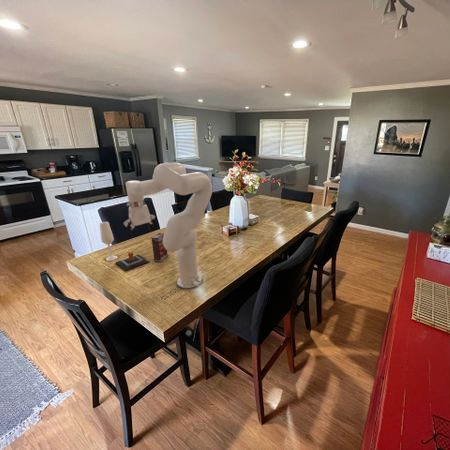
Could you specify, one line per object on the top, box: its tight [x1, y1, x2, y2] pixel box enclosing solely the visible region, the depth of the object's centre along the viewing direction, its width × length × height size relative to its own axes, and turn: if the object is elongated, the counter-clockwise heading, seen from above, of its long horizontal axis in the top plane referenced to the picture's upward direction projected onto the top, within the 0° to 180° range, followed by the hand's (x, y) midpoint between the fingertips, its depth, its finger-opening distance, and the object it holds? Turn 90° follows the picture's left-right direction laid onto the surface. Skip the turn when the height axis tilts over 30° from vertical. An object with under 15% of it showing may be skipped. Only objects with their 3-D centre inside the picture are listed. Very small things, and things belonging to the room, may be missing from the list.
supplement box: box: [151, 232, 169, 263], centre depth 151 cm, size 9×5×16 cm, turn 168°
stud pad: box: [125, 251, 139, 264], centre depth 146 cm, size 6×6×6 cm
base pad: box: [115, 254, 149, 272], centre depth 147 cm, size 14×14×2 cm
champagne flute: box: [99, 221, 118, 262], centre depth 149 cm, size 7×7×24 cm
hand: (142, 233), depth 135 cm, fingers open, 9 cm apart
